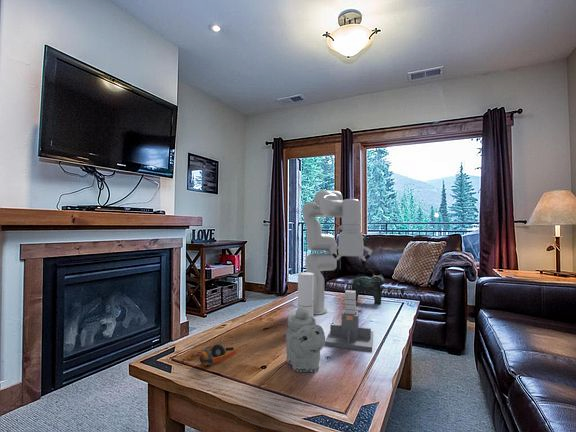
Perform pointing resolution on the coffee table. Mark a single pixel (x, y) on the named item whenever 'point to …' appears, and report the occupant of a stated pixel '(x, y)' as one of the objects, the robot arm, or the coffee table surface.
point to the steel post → (350, 302)
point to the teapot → (304, 342)
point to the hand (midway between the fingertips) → (351, 270)
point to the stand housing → (350, 334)
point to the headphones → (216, 354)
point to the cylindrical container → (306, 291)
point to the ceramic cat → (369, 286)
